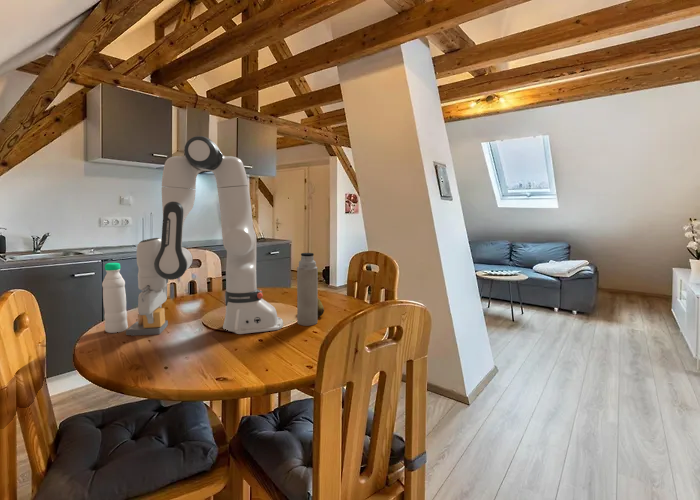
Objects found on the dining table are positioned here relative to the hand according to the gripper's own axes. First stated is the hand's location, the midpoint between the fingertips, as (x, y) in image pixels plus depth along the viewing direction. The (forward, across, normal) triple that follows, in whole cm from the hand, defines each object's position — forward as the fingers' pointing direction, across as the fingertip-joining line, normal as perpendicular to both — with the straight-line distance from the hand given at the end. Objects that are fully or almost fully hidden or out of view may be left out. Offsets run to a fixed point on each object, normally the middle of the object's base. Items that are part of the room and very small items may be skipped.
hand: (154, 319), depth 137 cm
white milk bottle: (+4, +2, +14) cm, 15 cm away
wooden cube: (+2, 0, 0) cm, 2 cm away
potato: (+5, +13, -59) cm, 61 cm away
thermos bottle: (+5, +2, -56) cm, 56 cm away
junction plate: (+4, +1, +3) cm, 5 cm away
